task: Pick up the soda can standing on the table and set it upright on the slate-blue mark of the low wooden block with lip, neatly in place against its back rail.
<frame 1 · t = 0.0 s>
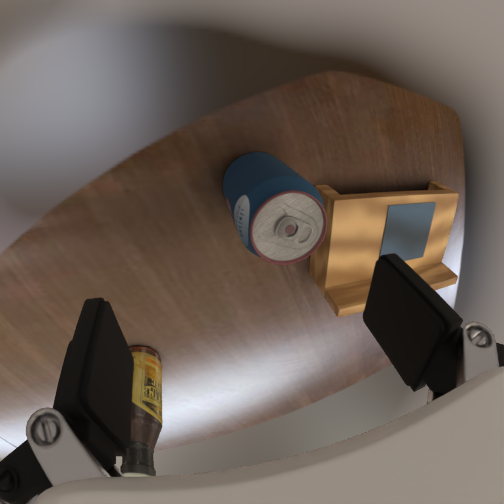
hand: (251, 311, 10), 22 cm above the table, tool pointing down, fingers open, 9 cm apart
sauce bottle: (141, 355, 40), on the table
wooden block with lip: (378, 223, 37), on the table
soda can: (253, 180, 31), on the table
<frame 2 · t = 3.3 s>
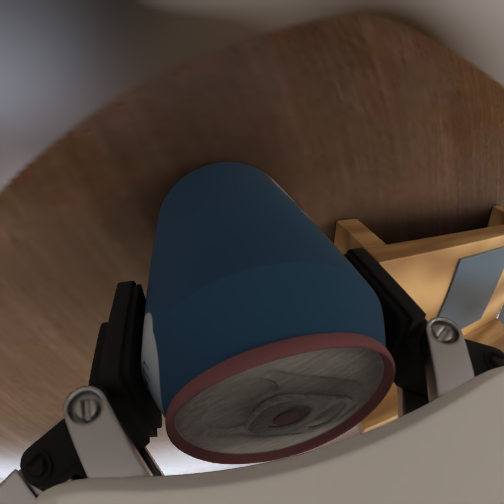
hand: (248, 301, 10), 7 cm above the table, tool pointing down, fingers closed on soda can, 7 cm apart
wooden block with lip: (425, 272, 23), on the table
soda can: (221, 216, 16), on the table, touching gripper
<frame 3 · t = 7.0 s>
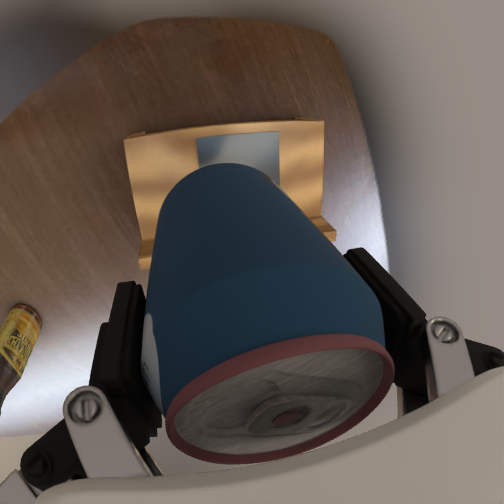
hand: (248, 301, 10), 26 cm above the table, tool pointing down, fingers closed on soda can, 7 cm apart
sauce bottle: (27, 315, 36), on the table
wooden block with lip: (224, 171, 33), on the table
soda can: (221, 217, 16), point 18 cm above the table, touching gripper
when the fingers open (12 cm above the table, at t = 10.8 s): soda can stays where it is, resting on wooden block with lip.
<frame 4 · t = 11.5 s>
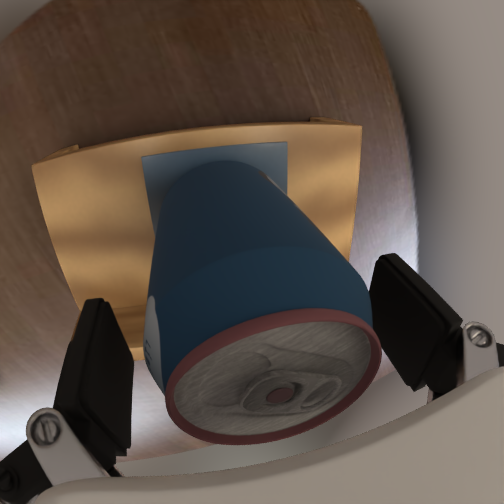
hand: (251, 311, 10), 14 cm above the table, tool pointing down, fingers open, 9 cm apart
wooden block with lip: (200, 202, 22), on the table
soda can: (220, 213, 17), point 5 cm above the table, touching wooden block with lip
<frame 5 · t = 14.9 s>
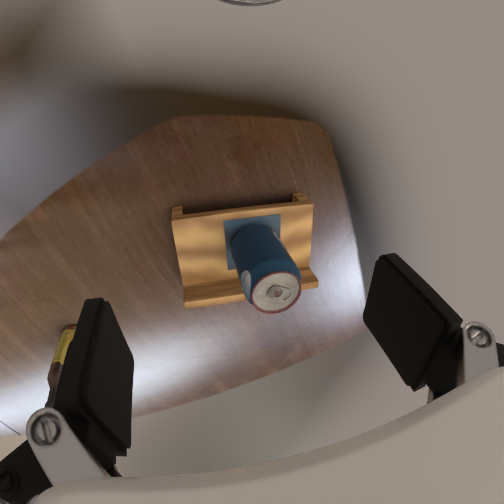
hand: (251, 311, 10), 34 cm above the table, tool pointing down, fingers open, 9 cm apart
sauce bottle: (76, 333, 50), on the table
wooden block with lip: (240, 234, 47), on the table
soda can: (253, 242, 43), point 5 cm above the table, touching wooden block with lip
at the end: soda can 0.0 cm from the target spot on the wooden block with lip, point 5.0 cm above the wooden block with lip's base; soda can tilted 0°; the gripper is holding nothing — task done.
